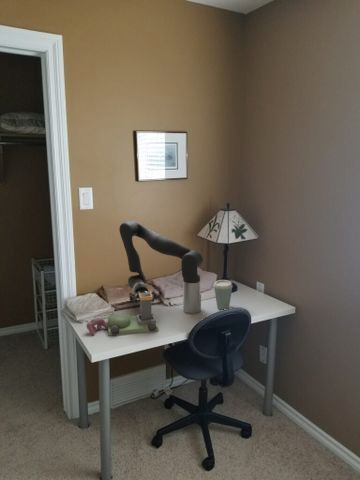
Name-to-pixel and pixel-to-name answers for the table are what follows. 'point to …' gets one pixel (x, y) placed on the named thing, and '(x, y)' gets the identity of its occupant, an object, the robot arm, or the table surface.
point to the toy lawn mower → (130, 324)
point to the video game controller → (98, 322)
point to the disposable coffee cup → (223, 293)
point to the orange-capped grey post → (145, 306)
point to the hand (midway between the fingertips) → (144, 300)
